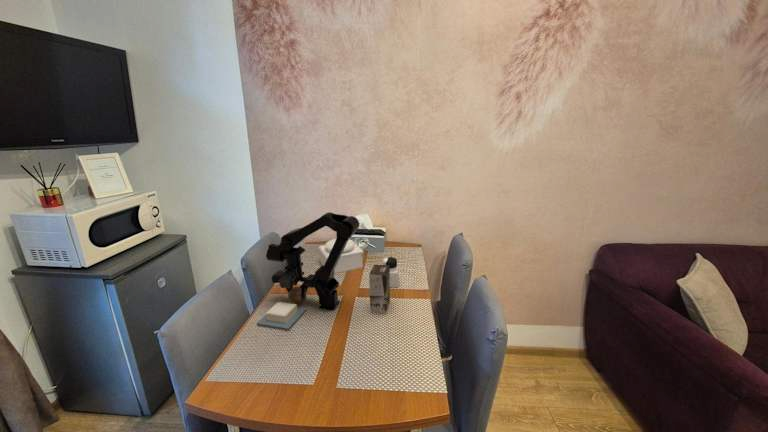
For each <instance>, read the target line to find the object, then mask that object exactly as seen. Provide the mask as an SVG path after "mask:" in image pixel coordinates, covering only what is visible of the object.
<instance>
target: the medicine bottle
mask: <svg viewBox="0 0 768 432" xmlns="http://www.w3.org/2000/svg"><path fill="white" fill-rule="evenodd" d="M382 265H390V288H399V282H400V275H399V272H400V271H399V270H400V267H399V266H398V259H397V258H395V257H392V256H387V257H385V258H383V260H382Z"/></svg>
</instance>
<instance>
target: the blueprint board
mask: <svg viewBox="0 0 768 432" xmlns="http://www.w3.org/2000/svg"><path fill="white" fill-rule="evenodd" d="M307 311H308V309H307V307H300V306H298V305H297V304H291V303H289V302H282V301H277V302H276V303H275V304H274V305H273V306H272V307H271V308H270V309H269V310H268V311H266V312H265V315H264V316H263V317H261V319H259V320H258V321H257V322H256V326H257V327H258V326H259V327H262V328H269V329H275V330H280V329H281V331H285V332H286V331H287V332H290V330H291V329H292V328H293V327H294V326H295V325H296V324H297V323H298V321H299V320H301V318H302V317H303V316H304V314H306V312H307Z"/></svg>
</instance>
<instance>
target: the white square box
mask: <svg viewBox="0 0 768 432" xmlns="http://www.w3.org/2000/svg"><path fill="white" fill-rule="evenodd" d="M336 238H337V236H336V237H335V238H333V239H330V240H328V241H327V242H326V243H325V244H323V245H319V246H318V255H319V256H318V257H319V258H318V259H319V262H320V264H321V266H322V265H323V266H324V265H325V263H326V260H327V258H328V256H329V254H330V252H331V250H332V248H333V245H334V243H335V241H336ZM364 253H365V252H364V251H363V250H362V248H361V247H360V246H358V244H356V242H355V241H354V240H352V239H351V238H350V239H349V240H348V242H347V244H346V246H345V248H344V250H343V252H342V255H341V257H340V259H339V261H338V263H337V265H336V267H335V269H334V275H337V274H341V273H345V272H348V271H349V272H350V271H354V270H359V269H363V268H364V262H363V261H364V258H363V257H364V256H363V254H364Z"/></svg>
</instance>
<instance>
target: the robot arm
mask: <svg viewBox="0 0 768 432" xmlns="http://www.w3.org/2000/svg"><path fill="white" fill-rule="evenodd" d="M324 227H327V228H329V229H331V231H334V232H336V237H337V238H336V237H335V238H336V241H335V243H334V245H333V248H332V250H331V252H330V254H329V256H328V258H327V260H326V263H325V265H324V266H323V265H322V264H321V266H320V267H319V268H318V269H317V270H316V271H315V272H314V274H311V273H310V274H309V275H308V276H304V275H305V272H304V271H303V267H302V266H304V262H302V256H301V255H302V254H303V253H304V252H306V249H305V248H304V247H302V245H299V244H300V243H301V242H302V241H303V240H305V239H306V238H307V237H308V236H311V235H312V234H314V233H316V232H317V231H319V230H321V229H322V228H324ZM359 228H360V221H359V220H358V218H357V217H356V216H352V215H350V216H348V215H346V214H338V213H337V214H336V213H334V212H326V213H325V214H323V215H321V216H320V217H319V218H316V219H315V220H313V221H312V222H310V223H308V224H306V225H304V226H303V227H299V228H295V229H292V230H290V231H289V232H287V233H286V234H284V235H282V236H281V238H280V243H279V244H276V243H270V244H269V245H268V248H267V251H266V254H265V255H266V256H265V257H266V260H268V261H270V262H280V263H282V262H284V261H285V262H286V266H284V270H278V271H276V272H275V273H274V274H272V276H271V282H272V283H273V284H278V285H279V286H280V288H281V289H285V291H287V293H288V292H289V291H290V290H291V289H292V288H293V287H294V286H297V285H298V284H299V282H301V285H300V286H299V287H300V288H301V292H302V299H304V298H305V295H306V296H307V292H308V289H310V288H311V289H312V288H314V289H315V292H316V294H317V296H318V304H319V306H318V309H320V310H326V311H327V310H328V311H334V310H335V309H336V308H337V307H338V305H339V304H340V303H341V301H340V300H339V297H338V294H339V293H338V289H337V288H338V287H339V286H340V282H339V281H338V280H337V279H336V278H335V274H334V269H335V267H336V265H337V263H338V261H339V259H340V257H341V255H342V252H343V250H344V248H345V246H346V244H347V242H348V240H349V239H350V240H351V238H352V237H353V236H354V234H355V233H356V232H357V230H359ZM297 245H299V246H298V247H296V246H297Z"/></svg>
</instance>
